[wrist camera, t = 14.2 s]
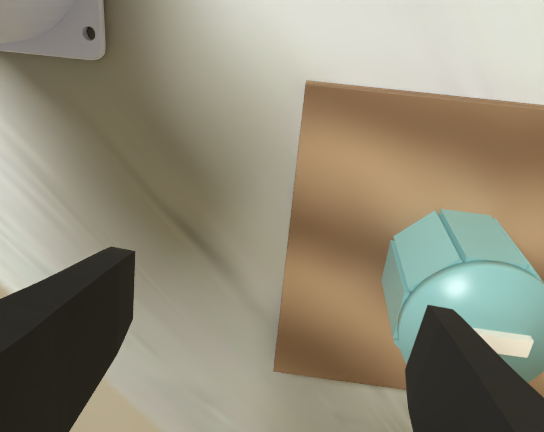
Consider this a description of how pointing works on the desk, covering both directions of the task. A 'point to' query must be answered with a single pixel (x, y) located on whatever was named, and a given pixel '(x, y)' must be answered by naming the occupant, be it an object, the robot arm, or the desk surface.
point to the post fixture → (392, 211)
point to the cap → (467, 285)
